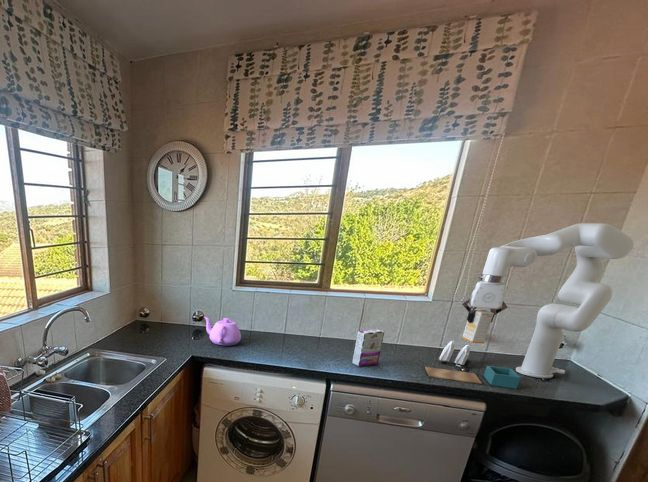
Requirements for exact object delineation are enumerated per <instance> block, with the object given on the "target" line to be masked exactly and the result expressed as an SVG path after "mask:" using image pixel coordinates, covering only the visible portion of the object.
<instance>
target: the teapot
mask: <svg viewBox="0 0 648 482" xmlns="http://www.w3.org/2000/svg"><path fill="white" fill-rule="evenodd" d="M203 318H204V319H205V322H206V325H205V326H206V327H205V329H206V333H207V334H208V335H209V339H210V341H211V342H212V343H213V344H215V345H219V346H227V347H232V346H235V345H237V344H238V343H239V342H241V340H242V334H241V330H240V327H239V326H238V325H237V323H236V321H233V320H231V319H230V318H228V317H224V318H222V320H217V322H215V324H214V325H213V327H212V326H211V319H210V318H209V317H207V316H203Z"/></svg>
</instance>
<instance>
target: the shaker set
mask: <svg viewBox="0 0 648 482" xmlns="http://www.w3.org/2000/svg"><path fill="white" fill-rule="evenodd" d="M455 344H456V342H455V340H450V341H449V342H448V343H447V345H445V347H444V348H443V350H442V352H441V353H440V356H439V357H438V359H439V362H441V363H449V362H450V360H451V358H452V356H453V354H454V351H455V347H456V346H455ZM470 351H471V344H466V345H465V346H464V347H462V348H461V349H460V351H459V352H458V353H457V355H456V357H455V359H454V362H453V363H454V364H459V365H460V366H461V365H462V366H464V365H466V362H467V360H468V358H469V355H470Z"/></svg>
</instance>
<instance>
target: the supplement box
mask: <svg viewBox="0 0 648 482" xmlns="http://www.w3.org/2000/svg"><path fill="white" fill-rule="evenodd" d="M473 314H474V316H473V319H472V322H471V323H469V322H468V320H466V323H465V324H466V325H465V327H464V331H463V334H462V337H461V338H462V339H463V340H465V341H468V342H470V343H472V344H481V345H482V344H484V343H485V341H486V338H487V335H488V332H489V328H490V326H491V320H492V317H493V314H494V313H492V312H490V310H486V309H484V308H476V309H475V311H474V313H473Z"/></svg>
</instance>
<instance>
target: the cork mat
mask: <svg viewBox="0 0 648 482" xmlns="http://www.w3.org/2000/svg"><path fill="white" fill-rule="evenodd" d="M424 369H425V371H426V374H427V376H428V377H429V378H436V379H441V380H448V381H449V380H450V381H456V382H464V383H470V384H477V385H483V383H482V381H481V380H480V379H479V377H478V376H477V375H476V373H474V372H469V371H468V372H467V371H460V370H454V369H445V368H437V367H431V366H424Z"/></svg>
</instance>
